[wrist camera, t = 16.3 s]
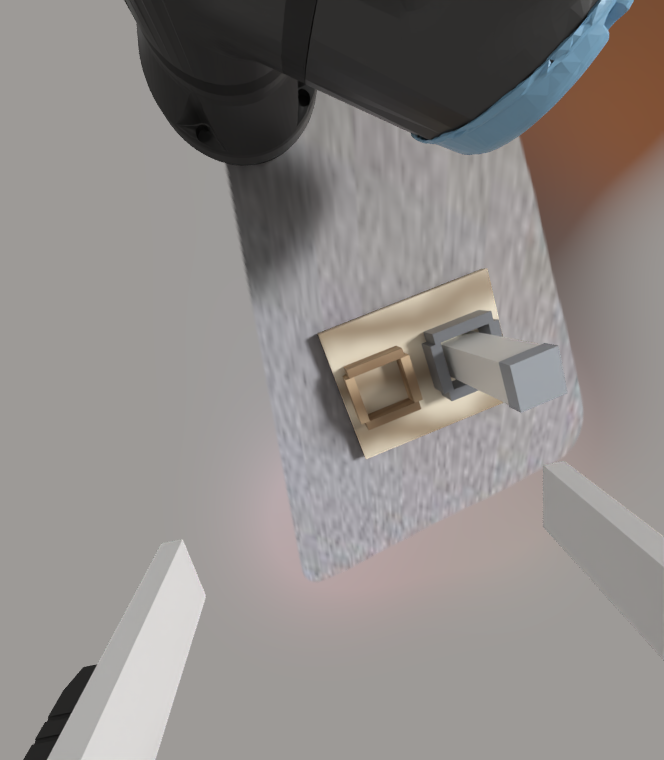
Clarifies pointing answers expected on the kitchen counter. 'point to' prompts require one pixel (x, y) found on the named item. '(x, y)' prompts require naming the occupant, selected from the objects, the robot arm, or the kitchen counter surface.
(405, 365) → the holster
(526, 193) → the kitchen counter surface
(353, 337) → the board
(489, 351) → the plug
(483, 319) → the port
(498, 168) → the kitchen counter surface
